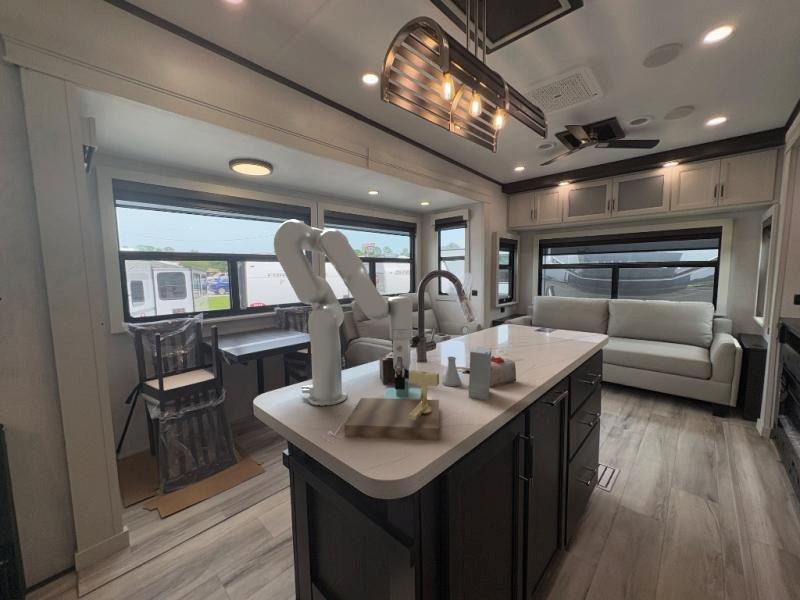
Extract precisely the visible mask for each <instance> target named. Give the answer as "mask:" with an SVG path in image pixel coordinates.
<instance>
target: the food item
mask: <svg viewBox="0 0 800 600" xmlns="http://www.w3.org/2000/svg"><path fill="white" fill-rule="evenodd" d="M516 369H517V368H516V363H515V361H513V360H512V359H510V358H502V357H501V356H499V357H495V356H494V355H491V372H490V388H493V387H497V386H499V385H501V384H502V385H506V384H510V383H512V382H513V381H515V382H516V381H517V374H516V373H517V371H516ZM509 382H510V383H509ZM505 383H506V384H505ZM513 383H514V382H513ZM502 385H501V386H502Z"/></svg>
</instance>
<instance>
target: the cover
mask: <svg viewBox="0 0 800 600" xmlns="http://www.w3.org/2000/svg"><path fill="white" fill-rule="evenodd" d="M383 398H387V399H421V387H420V388H417V387H415V388H413V387H412V388H411V387H410V383H409V379H405V389H404V390H399V389H395V387H388V388H387V390H386V392H385V394H384V395H383Z"/></svg>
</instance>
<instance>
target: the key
mask: <svg viewBox="0 0 800 600" xmlns="http://www.w3.org/2000/svg"><path fill="white" fill-rule="evenodd" d="M409 384H414V385H420V389H421V402H420V403H419V404H418V405H417V406H416V407H415V408H414V409H413V411H412V412H411V413H410V414H409V415H408V419H413V420H416V419H417V418H418V417H419V416H420V415H421V414H429V413H431V412H432V408H431V407H430V406H428V403H427V400H428V386H430V387H439V385H440V373H438V372H429V371H421V370H413V369H412V370H409Z"/></svg>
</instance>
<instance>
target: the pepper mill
mask: <svg viewBox="0 0 800 600" xmlns="http://www.w3.org/2000/svg"><path fill="white" fill-rule="evenodd" d="M421 341H422V337H421V336H420V335H417V334H414V335H413V338H412V339H411V342H412V343H411V344H410V349H412V348H413V349H416V348H418V347H419V343H420V342H421ZM391 344H392V346H391V347H392V350H391V351H389V352H386V353H384V354H383V353H381V354H379V378H381V379H380V380H381V383H382V384H383V385H395V371H396V370H395V369H394V364H393V339H391ZM409 372H410V368H409V369H408V379H409Z"/></svg>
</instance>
